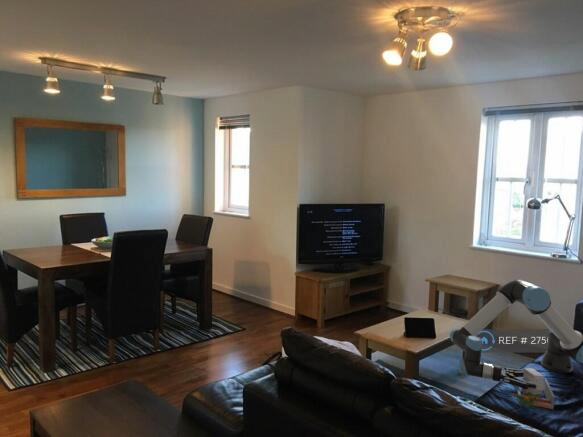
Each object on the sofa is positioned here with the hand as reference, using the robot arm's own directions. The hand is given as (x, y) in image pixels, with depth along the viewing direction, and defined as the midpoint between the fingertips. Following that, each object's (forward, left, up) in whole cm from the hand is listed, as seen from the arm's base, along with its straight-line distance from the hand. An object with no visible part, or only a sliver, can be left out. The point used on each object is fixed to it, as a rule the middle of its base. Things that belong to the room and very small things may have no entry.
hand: (542, 382), depth 227 cm
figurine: (+10, +14, -7) cm, 19 cm away
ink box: (+4, 0, -7) cm, 9 cm away
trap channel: (+4, +1, -7) cm, 8 cm away
